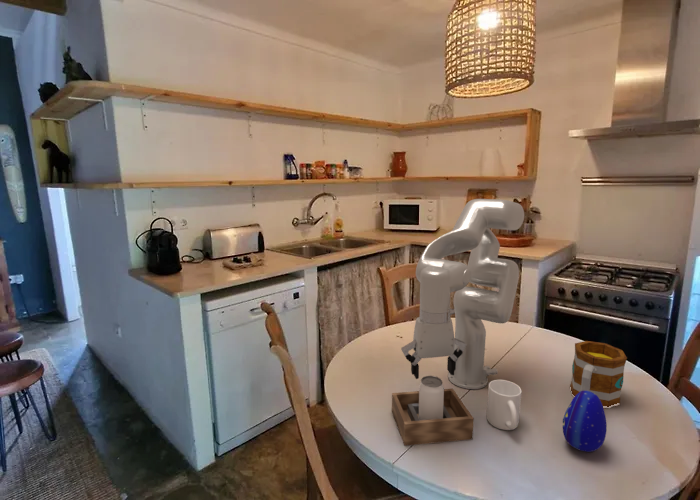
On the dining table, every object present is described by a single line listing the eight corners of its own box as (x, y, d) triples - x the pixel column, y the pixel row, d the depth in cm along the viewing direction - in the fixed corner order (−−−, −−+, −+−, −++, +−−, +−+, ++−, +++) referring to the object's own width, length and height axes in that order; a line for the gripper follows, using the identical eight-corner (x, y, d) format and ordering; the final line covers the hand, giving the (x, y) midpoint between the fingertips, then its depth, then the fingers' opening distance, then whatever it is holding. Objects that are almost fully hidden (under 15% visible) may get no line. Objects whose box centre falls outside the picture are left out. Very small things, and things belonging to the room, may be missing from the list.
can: (443, 430, 101) (444, 388, 99) (418, 427, 103) (419, 386, 100) (442, 415, 108) (443, 375, 105) (418, 412, 109) (419, 373, 106)
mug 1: (529, 441, 99) (533, 404, 97) (496, 440, 99) (499, 404, 97) (511, 412, 110) (514, 379, 108) (482, 412, 111) (484, 379, 109)
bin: (451, 407, 113) (452, 388, 112) (472, 439, 99) (473, 418, 98) (391, 412, 111) (392, 393, 110) (404, 445, 97) (404, 424, 96)
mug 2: (576, 379, 128) (581, 337, 125) (625, 395, 118) (631, 350, 115) (555, 404, 114) (560, 357, 111) (609, 424, 105) (616, 374, 102)
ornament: (565, 427, 104) (571, 376, 101) (606, 442, 98) (613, 388, 95) (556, 450, 95) (562, 395, 92) (599, 467, 90) (607, 409, 87)
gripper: (460, 306, 104) (458, 364, 108) (398, 311, 102) (398, 370, 106) (473, 317, 96) (470, 379, 100) (405, 323, 94) (405, 385, 98)
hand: (433, 374), depth 103 cm, fingers open, 9 cm apart
